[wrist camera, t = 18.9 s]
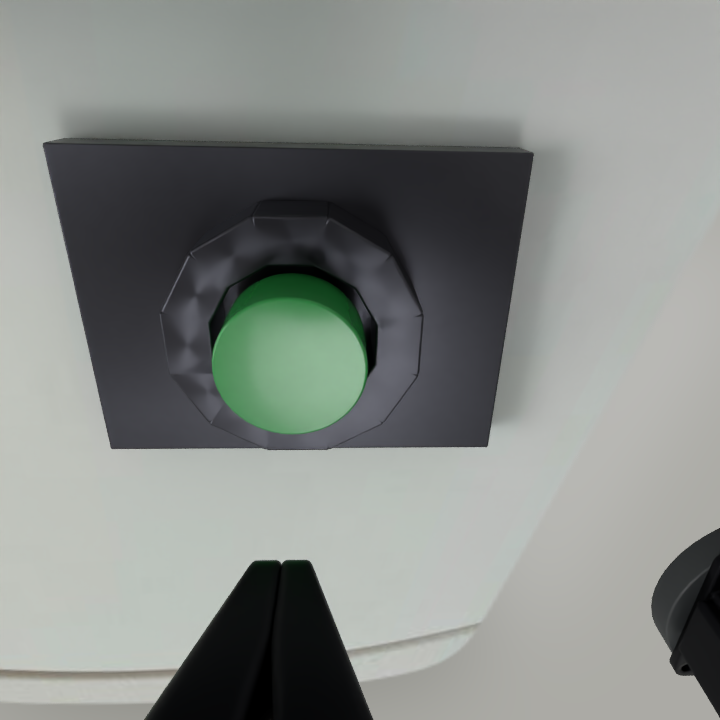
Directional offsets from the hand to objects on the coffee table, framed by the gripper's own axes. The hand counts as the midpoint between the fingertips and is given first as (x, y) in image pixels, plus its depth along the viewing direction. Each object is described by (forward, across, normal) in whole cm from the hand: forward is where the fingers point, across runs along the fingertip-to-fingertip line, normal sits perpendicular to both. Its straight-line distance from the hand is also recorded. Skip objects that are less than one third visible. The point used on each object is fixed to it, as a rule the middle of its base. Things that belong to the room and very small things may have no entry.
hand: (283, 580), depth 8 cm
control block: (+10, 0, -1) cm, 10 cm away
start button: (+7, 0, -1) cm, 7 cm away
